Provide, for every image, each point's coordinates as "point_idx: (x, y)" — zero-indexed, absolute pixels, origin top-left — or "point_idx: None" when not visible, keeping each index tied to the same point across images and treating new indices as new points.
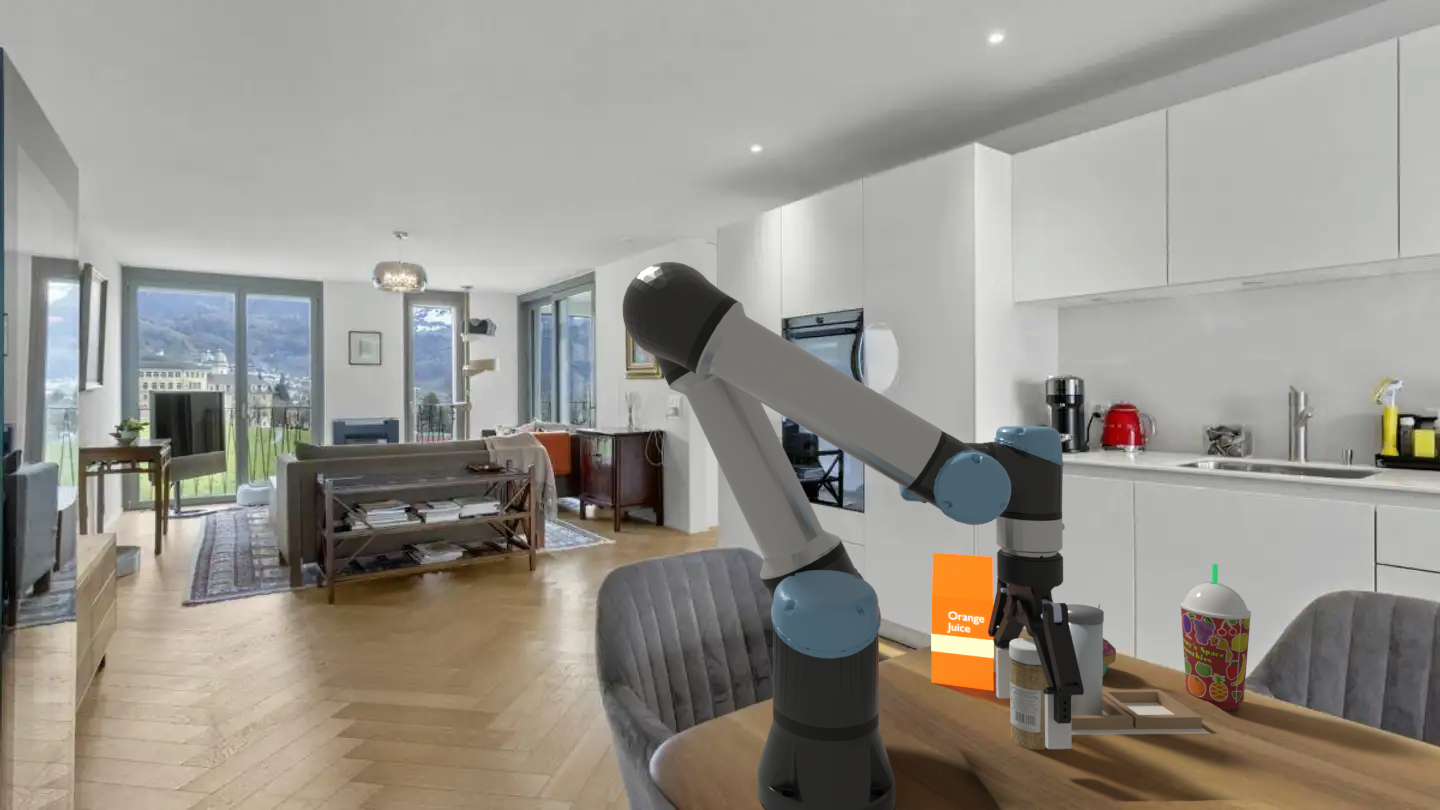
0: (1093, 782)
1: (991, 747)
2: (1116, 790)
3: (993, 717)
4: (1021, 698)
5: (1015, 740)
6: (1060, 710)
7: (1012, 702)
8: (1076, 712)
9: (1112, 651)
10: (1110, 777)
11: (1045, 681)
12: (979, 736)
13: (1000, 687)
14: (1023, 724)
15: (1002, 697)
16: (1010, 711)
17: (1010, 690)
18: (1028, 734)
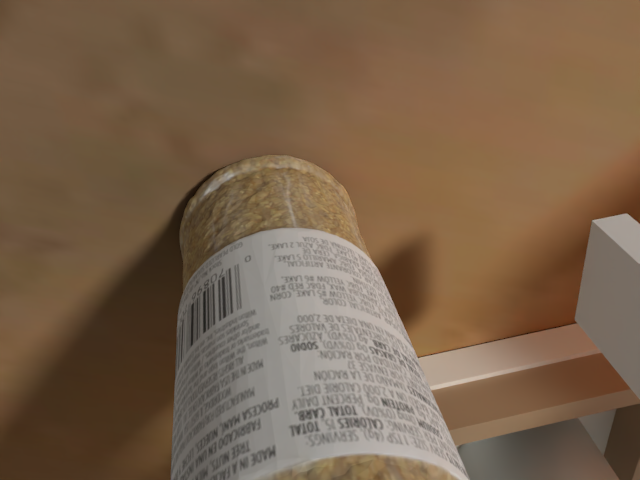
0: (44, 391)
1: (276, 53)
2: (10, 439)
3: (605, 137)
4: (202, 427)
5: (235, 196)
6: None
7: (272, 329)
8: (484, 460)
9: None
10: (108, 437)
11: None
12: (404, 12)
13: (632, 273)
14: (190, 297)
15: (592, 244)
16: (309, 266)
17: (341, 381)
18: (186, 283)
